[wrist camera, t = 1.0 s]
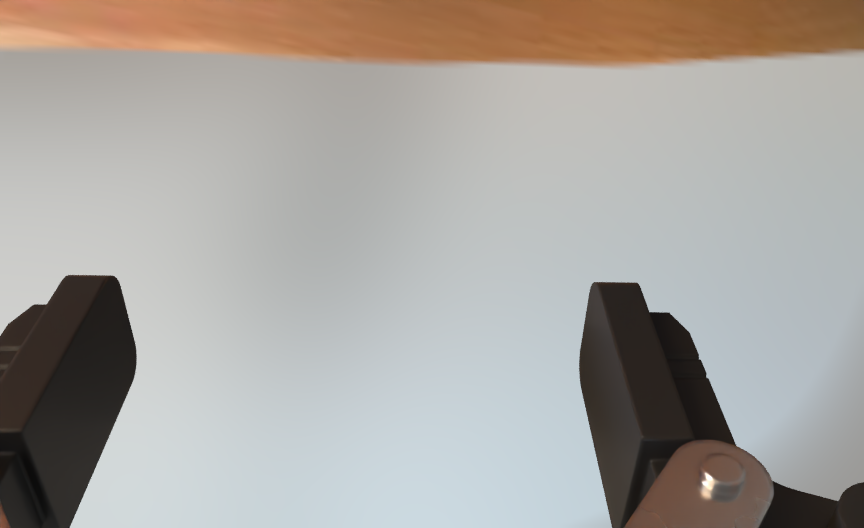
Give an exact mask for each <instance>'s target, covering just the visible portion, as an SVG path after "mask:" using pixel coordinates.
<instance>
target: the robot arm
mask: <svg viewBox="0 0 864 528" xmlns="http://www.w3.org/2000/svg"><path fill="white" fill-rule="evenodd" d="M579 362H580V363H579V367H580V368H579V371H580V383H581V389H582V393H583V398H584V402H585V407H586V411H587V416H588V421H589V425H590V430H591V434H592V438H593V443H594V448H595V452H596V457H597V461H598V466H599V470H600V474H601V479H602V484H603V488H604V492H605V497H606V501H607V506H608V510H609V514H610V520H611V524H612V528H864V482H863V483H858V484H855V485H853V486H851V487H849V488H848V489H846V490H845V491H844V492H843V494H842V495H841V497H840V500H839V501H834V500H831V499H827V498H823V497H820V496H816V495H812V494H808V493H805V492H801V491H797V490H794V489H791V488H787V487H785V486H782V485H780V484H778V483H775V482H774V481H772V480H771V477H770V475H769V473H768V472H767V470H766V468H765V467H764V466H763V465H762V464H761V463H760V462H759V461H758V460H757V459H756V458H755V457H754V456H752V455H751V454H749V453H748V452H747V451H745V450H743V449H741V448H739V447H737V446H736V444H735V442H734V439H733V437H732V434H731V432H730V430H729V427H728V425H727V423H726V420H725V418H724V415H723V413H722V410H721V408H720V405H719V403H718V401H717V398H716V396H715V393H714V391H713V389H712V386H711V384H710V381H709V379H708V378H706V371H705V369H704V367H703V364H702V362H701V360H699V354H698V352H697V350H696V348H695V345H694V342H693V340H692V338H691V335H690V333H689V332H688V331H687V330H686V329H685V328H684V327H683V326H682V325H681V324H680V323H679V322H678V321H677V320H676V319H675V318H674V317H673V316H672V315H671V314H670V313H659V312H658V313H657V312H649V310H648V307H647V304H646V302H645V299H644V296H643V293H642V291H641V288H640V286H639V284H638V283H615V282H612V283H611V282H607V283H606V282H594V283H593V284H592V286H591V289H590V293H589V299H588V306H587V312H586V318H585V324H584V331H583V338H582V343H581V349H580V361H579ZM135 370H136V346H135V341H134V337H133V333H132V330H131V325H130V322H129V318H128V314H127V310H126V306H125V302H124V298H123V294H122V290H121V286H120V284H119V281H118V280H117V278H116V277H115V276H96V275H95V276H94V275H68V276H66V277H65V278H64V279H63V280H62V281H61V283H60V285H59V286H58V288H57V289H56V291H55V292H54V294H53V296H52V297H51V299H50V300H49V302H48V304H47V305H33V306H32V307H30V308H29V309H28V310H26V311H25V312H24V313H22V314H21V315H20V316H18V317H17V318H16V319H15V320H13V321H12V322H11V323H10V324H8V326H7V327H6V329H5V330H4V331H3V333H2V334H1V336H0V528H70V525H71V523H72V520H73V518H74V516H75V514H76V511H77V509H78V507H79V504H80V502H81V500H82V498H83V495H84V493H85V491H86V488H87V486H88V484H89V481H90V479H91V477H92V474H93V472H94V470H95V468H96V465H97V463H98V461H99V458H100V456H101V454H102V451H103V449H104V447H105V444H106V442H107V440H108V438H109V435H110V433H111V430H112V428H113V426H114V423H115V421H116V419H117V417H118V414H119V412H120V410H121V407H122V405H123V403H124V401H125V398H126V396H127V394H128V391H129V389H130V387H131V384H132V382H133V379H134V375H135Z"/></svg>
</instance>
